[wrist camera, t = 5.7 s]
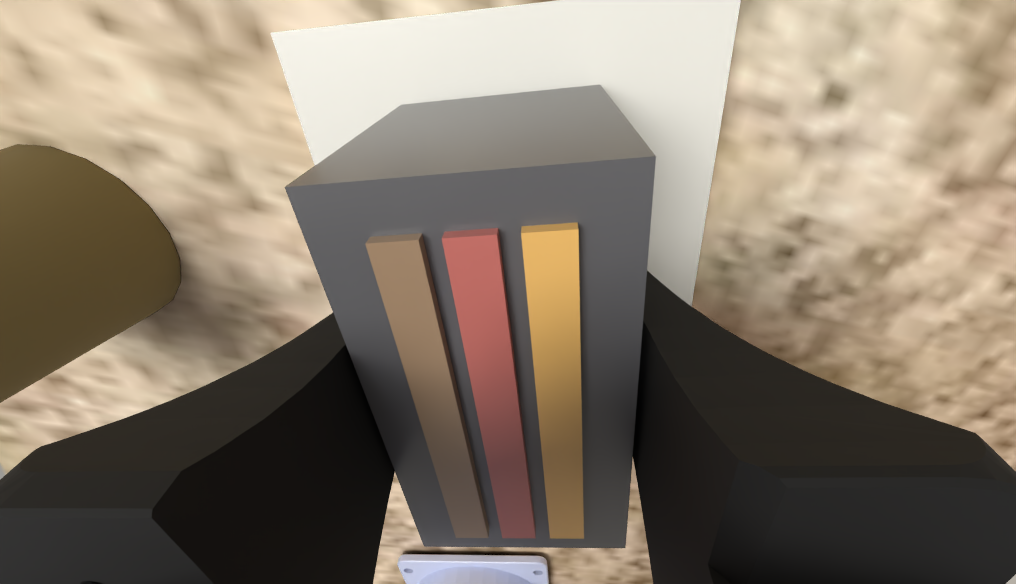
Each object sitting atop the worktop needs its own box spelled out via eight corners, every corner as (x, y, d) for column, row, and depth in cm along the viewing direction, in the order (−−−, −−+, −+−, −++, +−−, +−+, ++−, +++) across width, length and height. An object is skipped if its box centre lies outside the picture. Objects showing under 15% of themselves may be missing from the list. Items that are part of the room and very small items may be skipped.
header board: (668, 382, 16) (697, 466, 13) (402, 389, 17) (374, 469, 14) (725, -18, 10) (808, -28, 7) (291, 30, 11) (197, 40, 8)
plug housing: (597, 372, 14) (626, 558, 9) (460, 376, 15) (422, 555, 10) (599, 84, 10) (659, 160, 5) (401, 104, 10) (276, 192, 5)
